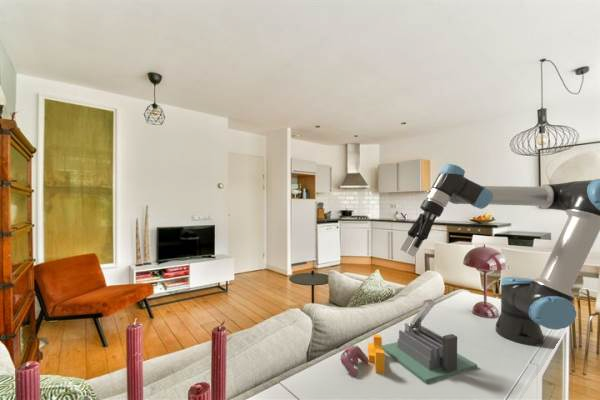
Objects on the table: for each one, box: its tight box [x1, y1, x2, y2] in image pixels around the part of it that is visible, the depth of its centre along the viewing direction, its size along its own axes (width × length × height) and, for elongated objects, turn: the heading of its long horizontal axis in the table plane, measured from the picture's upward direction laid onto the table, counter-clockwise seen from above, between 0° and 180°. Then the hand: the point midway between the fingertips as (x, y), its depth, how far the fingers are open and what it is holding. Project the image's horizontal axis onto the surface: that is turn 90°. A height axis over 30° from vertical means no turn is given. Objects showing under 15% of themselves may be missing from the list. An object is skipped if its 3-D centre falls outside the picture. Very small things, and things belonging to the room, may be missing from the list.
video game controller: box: [340, 344, 370, 377], centre depth 89 cm, size 10×5×7 cm, turn 141°
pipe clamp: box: [367, 334, 386, 375], centre depth 92 cm, size 12×4×6 cm, turn 169°
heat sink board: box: [382, 322, 478, 384], centre depth 95 cm, size 22×20×11 cm
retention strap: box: [409, 299, 436, 329], centre depth 97 cm, size 3×14×2 cm
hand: (406, 252), depth 105 cm, fingers open, 13 cm apart
